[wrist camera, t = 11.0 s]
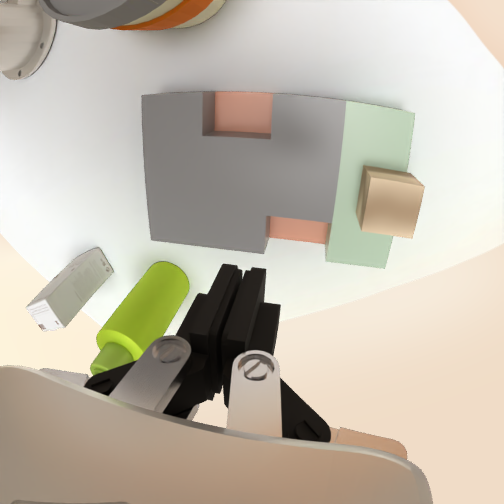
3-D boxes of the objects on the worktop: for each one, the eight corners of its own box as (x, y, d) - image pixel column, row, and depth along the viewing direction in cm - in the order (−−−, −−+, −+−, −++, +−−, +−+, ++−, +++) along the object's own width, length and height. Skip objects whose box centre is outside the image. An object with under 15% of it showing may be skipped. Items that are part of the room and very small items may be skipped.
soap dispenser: (154, 303, 43) (82, 417, 25) (143, 260, 39) (51, 373, 22) (194, 307, 41) (129, 434, 24) (185, 262, 38) (101, 391, 21)
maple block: (363, 165, 25) (370, 177, 22) (410, 173, 25) (424, 186, 21) (355, 212, 27) (361, 231, 24) (401, 219, 27) (412, 238, 23)
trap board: (160, 93, 29) (141, 95, 25) (402, 110, 25) (415, 113, 22) (166, 224, 36) (151, 240, 33) (378, 249, 33) (384, 268, 29)
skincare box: (99, 245, 40) (43, 296, 29) (115, 272, 41) (66, 328, 31) (74, 257, 42) (22, 305, 31) (89, 282, 43) (42, 333, 33)
